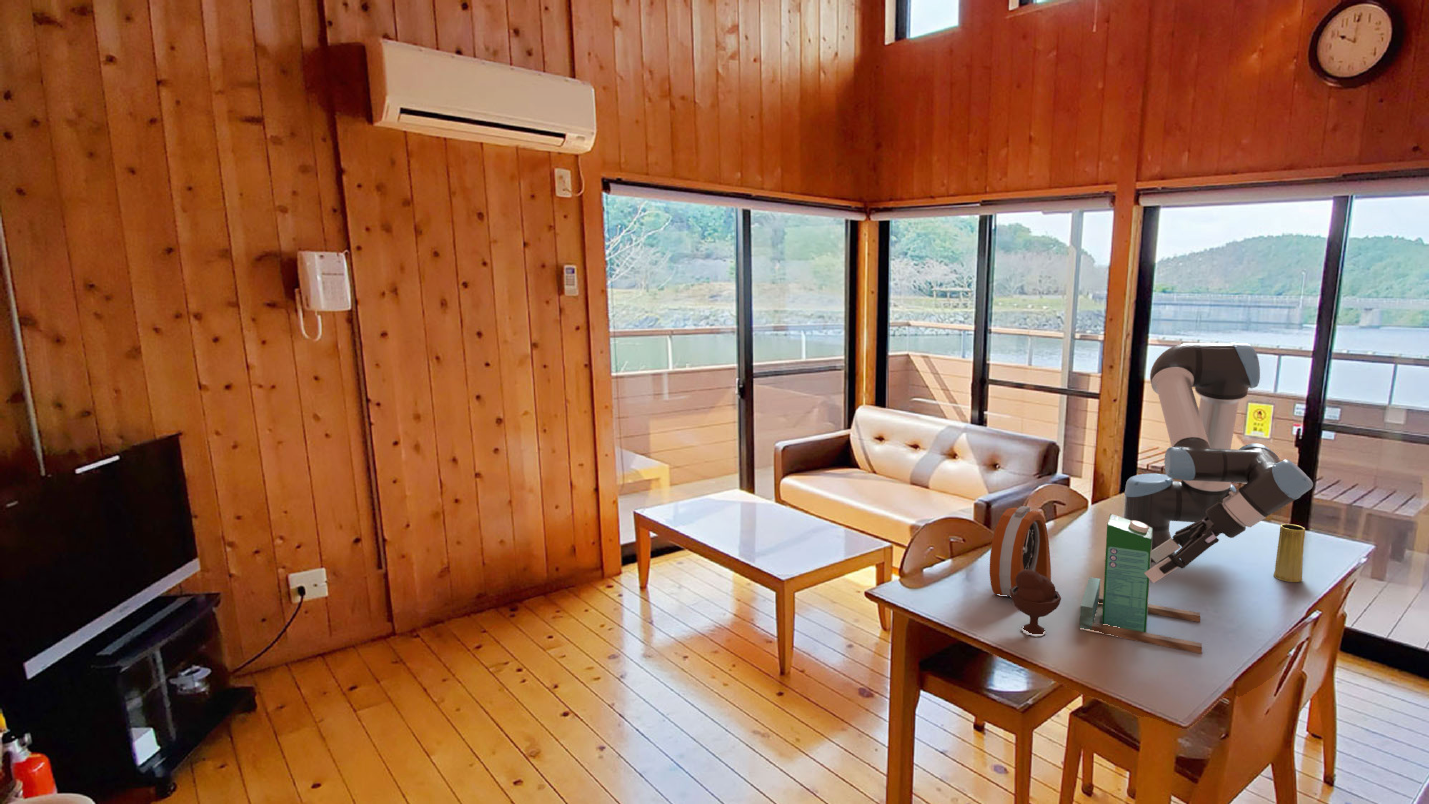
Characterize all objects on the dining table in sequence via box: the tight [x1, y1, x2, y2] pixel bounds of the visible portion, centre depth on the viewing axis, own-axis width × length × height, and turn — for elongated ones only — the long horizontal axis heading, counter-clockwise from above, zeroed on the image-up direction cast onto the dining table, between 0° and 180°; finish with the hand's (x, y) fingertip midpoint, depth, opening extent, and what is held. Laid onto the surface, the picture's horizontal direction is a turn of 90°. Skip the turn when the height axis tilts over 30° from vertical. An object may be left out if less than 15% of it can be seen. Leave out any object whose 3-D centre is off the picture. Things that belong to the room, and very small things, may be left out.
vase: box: [1273, 523, 1306, 583], centre depth 196 cm, size 6×6×14 cm
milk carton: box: [1101, 513, 1153, 633], centre depth 175 cm, size 9×9×25 cm
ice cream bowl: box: [1010, 569, 1062, 634], centre depth 172 cm, size 11×11×15 cm
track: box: [1079, 576, 1203, 654], centre depth 174 cm, size 24×19×6 cm
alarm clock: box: [989, 505, 1052, 597], centre depth 194 cm, size 22×10×23 cm, turn 137°
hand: (1150, 567), depth 172 cm, fingers open, 13 cm apart
